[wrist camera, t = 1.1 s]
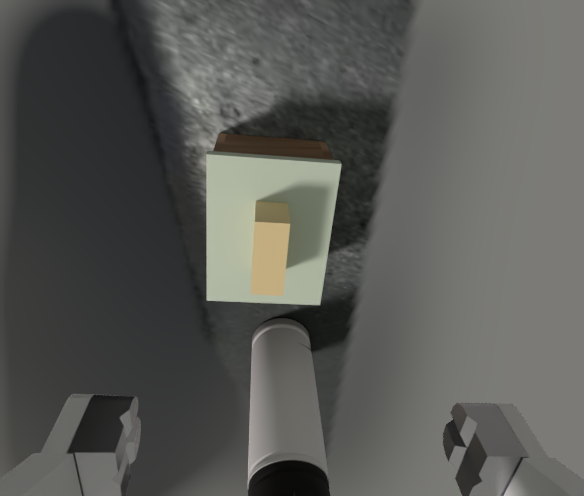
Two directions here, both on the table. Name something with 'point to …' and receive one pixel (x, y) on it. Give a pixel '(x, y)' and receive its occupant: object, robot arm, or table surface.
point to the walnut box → (272, 146)
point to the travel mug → (284, 415)
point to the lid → (268, 227)
